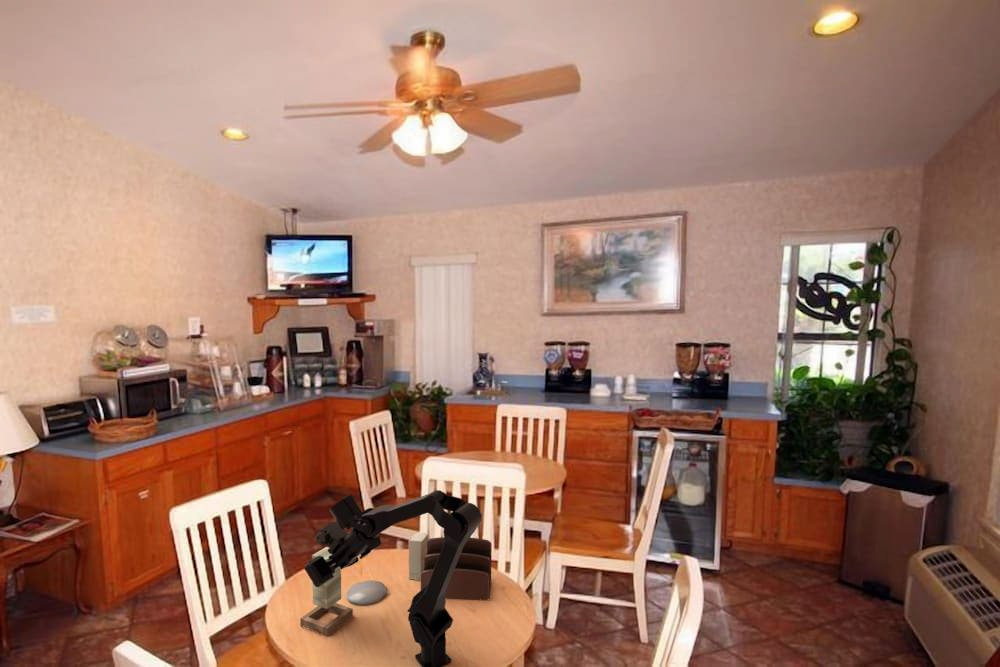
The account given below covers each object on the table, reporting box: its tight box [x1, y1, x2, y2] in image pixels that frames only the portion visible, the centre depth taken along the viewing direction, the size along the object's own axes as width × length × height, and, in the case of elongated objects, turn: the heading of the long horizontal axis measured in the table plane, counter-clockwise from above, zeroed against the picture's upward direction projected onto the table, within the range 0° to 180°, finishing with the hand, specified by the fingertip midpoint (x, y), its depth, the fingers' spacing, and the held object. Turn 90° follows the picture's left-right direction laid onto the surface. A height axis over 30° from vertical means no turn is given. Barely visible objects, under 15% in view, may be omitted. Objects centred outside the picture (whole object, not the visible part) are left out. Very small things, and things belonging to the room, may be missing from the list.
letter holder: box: [420, 536, 493, 601], centre depth 144 cm, size 10×20×14 cm, turn 87°
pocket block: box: [299, 602, 354, 637], centre depth 129 cm, size 9×9×2 cm
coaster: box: [346, 579, 387, 606], centre depth 141 cm, size 11×11×1 cm
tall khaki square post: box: [311, 546, 342, 609], centre depth 128 cm, size 5×5×13 cm
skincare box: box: [408, 531, 429, 581], centre depth 152 cm, size 6×4×12 cm
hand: (322, 575), depth 129 cm, fingers closed on tall khaki square post, 5 cm apart
